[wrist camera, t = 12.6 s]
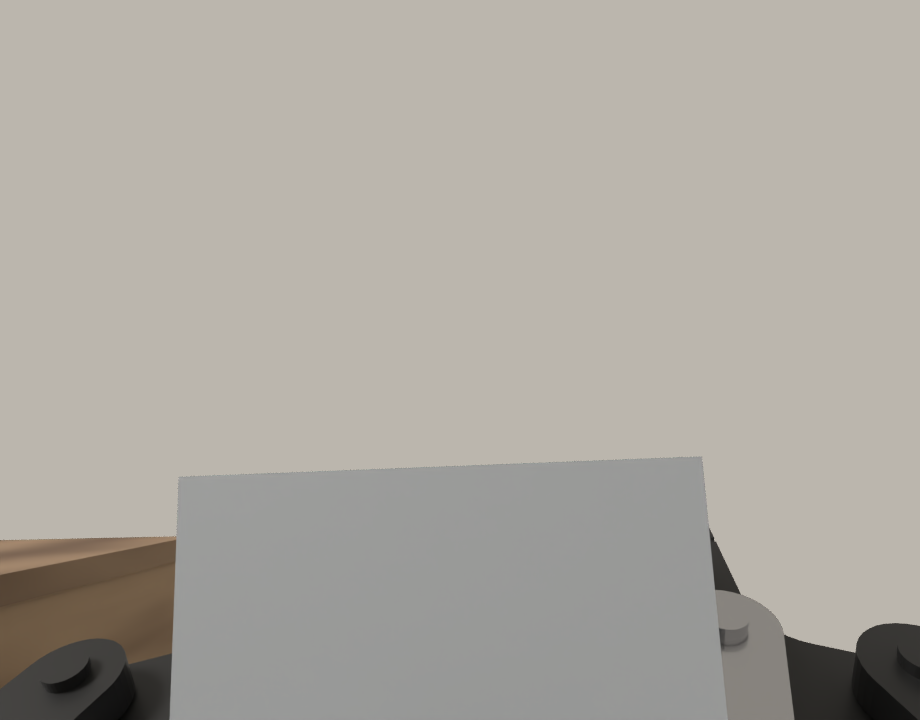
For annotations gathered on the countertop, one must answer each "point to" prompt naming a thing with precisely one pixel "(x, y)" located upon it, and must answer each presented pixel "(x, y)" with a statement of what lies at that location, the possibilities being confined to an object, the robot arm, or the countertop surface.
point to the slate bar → (448, 594)
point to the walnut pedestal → (85, 597)
